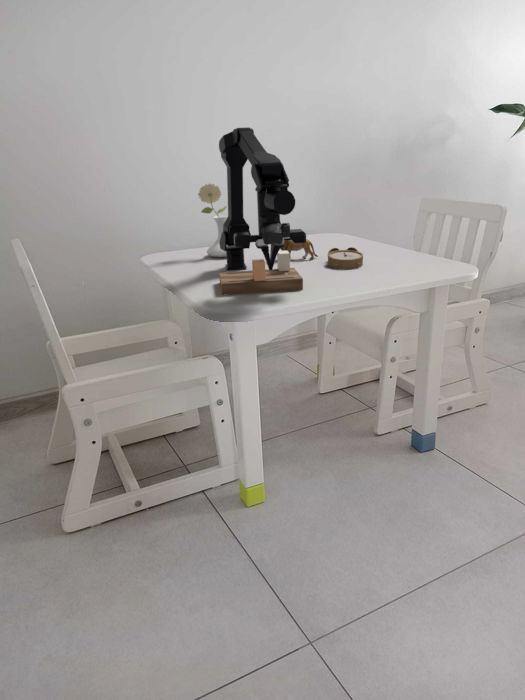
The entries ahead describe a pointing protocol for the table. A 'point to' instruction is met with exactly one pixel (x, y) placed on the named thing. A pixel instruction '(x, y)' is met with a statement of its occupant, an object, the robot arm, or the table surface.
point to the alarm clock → (345, 258)
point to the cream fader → (283, 261)
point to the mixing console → (274, 281)
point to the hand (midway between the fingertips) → (270, 269)
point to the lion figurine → (299, 247)
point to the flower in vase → (212, 195)
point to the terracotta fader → (258, 269)
